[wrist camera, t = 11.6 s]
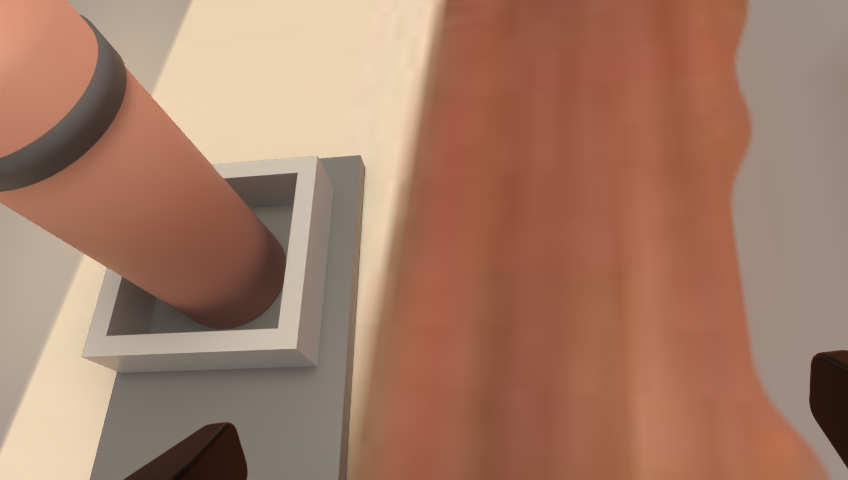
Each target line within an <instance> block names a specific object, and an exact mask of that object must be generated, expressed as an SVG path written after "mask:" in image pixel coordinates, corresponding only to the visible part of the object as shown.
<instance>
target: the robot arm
mask: <svg viewBox="0 0 848 480" xmlns="http://www.w3.org/2000/svg"><path fill="white" fill-rule="evenodd" d="M809 402H810V408H811V412H812V414H813V416H814V418H815V420H816V421H817V423H818V424H819V426H820V427H821V429H822V430H823V432H824V433H825V435H826V436H827V438H828V439H829V441H830V442H831V444H832V445H833V447H834V448H835V450H836V451H837V453H838V454H839V456H840V457H841V459H842V461H843V462H844V464H845V465H846V467H847V468H848V351H847V350H839V351H830V352H822V353H818V354H816V355H815V356H814V357H813V359H812V362H811V374H810V396H809ZM247 475H248V468H247V462H246V459H245V455H244V452H243V449H242V445H241V442H240V439H239V435H238V432H237V429H236V427H235V426H234V424H232V423H231V422H221V423H213V424H208V425H205V426H203V427H202V428H200V429H199V430H197V431H196V432H194V433H193V434H191V435H190V436H188V437H187V438H185V439H184V440H182V441H181V442H179V443H178V444H176V445H175V446H173V447H172V448H170V449H168V450H167V451H165V452H164V453H162V454H161V455H159V456H158V457H156V458H155V459H153V460H152V461H150V462H149V463H147V464H146V465H144V466H143V467H141V468H140V469H138V470H137V471H135V472H134V473H132V474H131V475H129V476H127V477H126V478H124V479H123V480H247Z"/></svg>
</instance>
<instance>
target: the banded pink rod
mask: <svg viewBox="0 0 848 480" xmlns="http://www.w3.org/2000/svg"><path fill="white" fill-rule="evenodd" d="M0 203H2V204H4V205H5V206H7V207H9V208H10V209H12V210H13V211H15V212H17V213H18V214H20V215H22V216H23V217H25V218H27V219H28V220H30V221H32V222H33V223H35V224H37V225H38V226H40V227H42V228H43V229H45V230H47V231H48V232H50V233H51V234H53V235H55V236H56V237H58V238H60V239H61V240H63V241H65V242H66V243H68V244H69V245H71V246H73V247H74V248H76V249H78V250H79V251H81V252H83V253H84V254H86V255H88V256H89V257H91V258H92V259H94V260H96V261H97V262H99V263H101V264H102V265H104V266H106V267H107V268H109V269H111V270H112V271H114V272H115V273H117V274H119V275H120V276H122V277H124V278H125V279H127V280H129V281H130V282H132V283H134V284H135V285H137V286H139V287H140V288H142V289H143V290H145V291H147V292H148V293H150V294H152V295H153V296H155V297H157V298H158V299H160V300H162V301H163V302H165V303H166V304H168V305H170V306H171V307H173V308H175V309H176V310H178V311H180V312H181V313H183V314H185V315H186V316H188V317H190V318H191V319H193V320H194V321H196V322H198V323H200V324H202V325H204V326H207V327H210V328H215V329H227V328H233V327H237V326H240V325H243V324H245V323H247V322H249V321H252V320H253V319H255V318H256V317H258V316H259V315H260V314H262V313H263V312H264V311H265V310H266V309H267V308H268V307H269V306H270V305H271V304H272V302H273V301H274V300H275V298H276V297H277V295H278V294H279V292H280V290H281V288H282V285H283V282H284V277H285V269H286V257H285V253H284V250H283V248H282V246H281V244H280V242H279V241H278V240H277V239H276V237H275V236H274V235H273V234H272V233H271V232H270V231H269V230H268V228H267V227H266V226H265V225H264V224H263V223H262V222H261V220H260V219H259V218H258V217H257V216H256V215H255V214H254V212H253V211H252V210H251V209H250V208H249V207H248V206H247V205H246V203H245V202H244V201H243V200H242V199H241V198H240V197H239V195H238V194H237V193H236V192H235V191H234V190H233V189H232V187H231V186H230V185H229V184H228V183H227V182H226V181H225V180H224V178H223V177H222V176H221V175H220V174H219V173H218V172H217V170H216V169H215V168H214V167H213V166H212V165H211V164H210V162H209V161H208V160H207V159H206V158H205V157H204V156H203V155H202V153H201V152H200V151H199V150H198V149H197V148H196V147H195V145H194V144H193V143H192V142H191V141H190V140H189V139H188V137H187V136H186V135H185V134H184V133H183V132H182V131H181V130H180V128H179V127H178V126H177V125H176V124H175V123H174V122H173V120H172V119H171V118H170V117H169V116H168V115H167V114H166V113H165V111H164V110H163V109H162V108H161V107H160V106H159V105H158V103H157V102H156V101H155V100H154V99H153V98H152V97H151V95H150V94H149V93H148V92H147V91H146V90H145V89H144V88H143V86H142V85H141V84H140V83H139V82H138V81H137V80H136V78H135V77H134V76H133V75H132V74H131V73H130V72H129V71H128V69H127V68H126V67H125V65H124V62H123V60H122V59H121V57H120V55H119V54H118V53H117V51H116V50H115V49H114V48H113V47H112V46H111V44H110V43H109V42H108V41H107V40H106V39H105V38H104V36H103V35H102V34H101V33H100V32H99V31H98V29H97V28H96V27H95V26H94V25H93V24H92V23H91V22H90V21H89V20H88V19H87V18H85V17H84V16H82V15H80V14H78V13H77V11H75V9H74V8H73V7H72V6H71V5H70V4H69V2H68V1H67V0H0Z"/></svg>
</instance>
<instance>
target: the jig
mask: <svg viewBox="0 0 848 480" xmlns="http://www.w3.org/2000/svg"><path fill="white" fill-rule="evenodd" d="M212 166H213V167H214V168H215V169H216V170H217V172H218V173H219V174H220V175H221V176H222V177H223V178H224V180H225V181H226V182H227V183H228V184H229V185H230V186H231V187H232V189H233V190H234V191H235V192H236V193H237V194H238V195H239V197H240V198H241V199H242V200H243V201H244V202H245V203H246V205H247V206H248V207H249V208H250V209H251V210H252V211H253V212H254V214H255V215H256V216H257V217H258V218H259V219H260V220H261V222H262V223H263V224H264V225H265V226H266V227H267V228H268V230H269V231H270V232H271V233H272V234H273V235H274V236H275V237H276V239H277V240H278V241H279V242H280V244H281V246H282V248H283V250H284V253H285V257H286V269H285V277H284V282H283V285H282V288H281V290H280V292H279V294H278V295H277V297H276V298H275V300H274V301H273V302H272V304H271V305H270V306H269V307H268V308H267V309H266V310H265V311H264V312H263V313H262V314H260V315H259V316H258V317H256V318H255V319H253V320H252V321H249V322H247V323H245V324H243V325H240V326H237V327H233V328H227V329H215V328H210V327H207V326H204V325H202V324H200V323H198V322H196V321H194V320H193V319H191V318H190V317H188V316H186V315H185V314H183V313H181V312H180V311H178V310H176V309H175V308H173V307H171V306H170V305H168V304H166V303H165V302H163V301H162V300H160V299H158V298H157V297H155V296H153V295H152V294H150V293H148V292H147V291H145V290H143V289H142V288H140V287H139V286H137V285H135V284H134V283H132V282H130V281H129V280H127V279H125V278H124V277H122V276H120V275H119V274H117V273H115V272H114V271H112V270H111V269H109V268H107V269H106V273H105V276H104V280H103V283H102V287H101V290H100V294H99V297H98V301H97V304H96V308H95V311H94V315H93V318H92V322H91V325H90V329H89V332H88V336H87V339H86V343H85V346H84V349H83V353H82V356H81V357H83V358H85V359H88V360H90V361H93V362H95V363H98V364H100V365H103V366H105V367H108V368H110V369H113V370H115V371H117V375H116V379H115V382H114V386H113V390H112V394H111V398H110V402H109V406H108V410H107V414H106V418H105V422H104V426H103V430H102V433H101V437H100V441H99V445H98V449H97V453H96V457H95V461H94V465H93V469H92V473H91V477H90V480H123V479H124V478H126V477H127V476H129V475H131V474H132V473H134V472H135V471H137V470H138V469H140V468H141V467H143V466H144V465H146V464H147V463H149V462H150V461H152V460H153V459H155V458H156V457H158V456H159V455H161V454H162V453H164V452H165V451H167V450H168V449H170V448H172V447H173V446H175V445H176V444H178V443H179V442H181V441H182V440H184V439H185V438H187V437H188V436H190V435H191V434H193V433H194V432H196V431H197V430H199V429H200V428H202V427H203V426H205V425H208V424H213V423H221V422H231V423H232V424H234V426H235V427H236V429H237V432H238V435H239V439H240V442H241V445H242V449H243V452H244V455H245V459H246V462H247V468H248V475H247V480H346V466H347V450H348V434H349V418H350V402H351V386H352V369H353V353H354V337H355V321H356V305H357V289H358V272H359V256H360V240H361V224H362V208H363V192H364V175H365V166H364V163H363V161H362V158H361V156H360V155H358V156H346V157H334V158H322V159H319V158H318V156H309V157H297V158H285V159H273V160H261V161H249V162H237V163H225V164H213V165H212Z"/></svg>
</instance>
